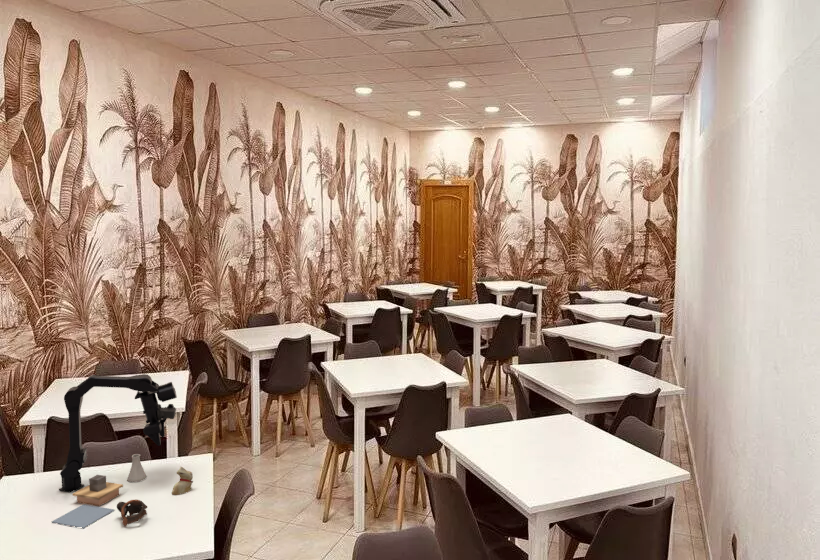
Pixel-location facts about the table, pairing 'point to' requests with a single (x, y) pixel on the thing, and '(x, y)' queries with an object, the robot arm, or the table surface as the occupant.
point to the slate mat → (83, 516)
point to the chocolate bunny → (183, 482)
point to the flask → (136, 470)
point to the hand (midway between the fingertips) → (161, 441)
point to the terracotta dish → (98, 502)
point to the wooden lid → (97, 488)
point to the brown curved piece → (132, 511)
